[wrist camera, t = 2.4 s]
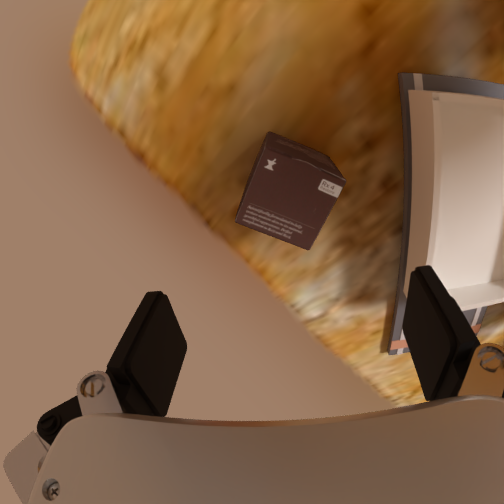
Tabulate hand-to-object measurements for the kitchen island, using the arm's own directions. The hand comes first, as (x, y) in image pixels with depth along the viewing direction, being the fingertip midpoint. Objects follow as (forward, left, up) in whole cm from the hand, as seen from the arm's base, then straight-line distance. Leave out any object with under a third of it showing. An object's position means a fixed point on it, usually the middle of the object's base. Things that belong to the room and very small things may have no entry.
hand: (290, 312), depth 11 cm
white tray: (+3, +18, -17) cm, 25 cm away
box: (0, 0, -19) cm, 19 cm away
